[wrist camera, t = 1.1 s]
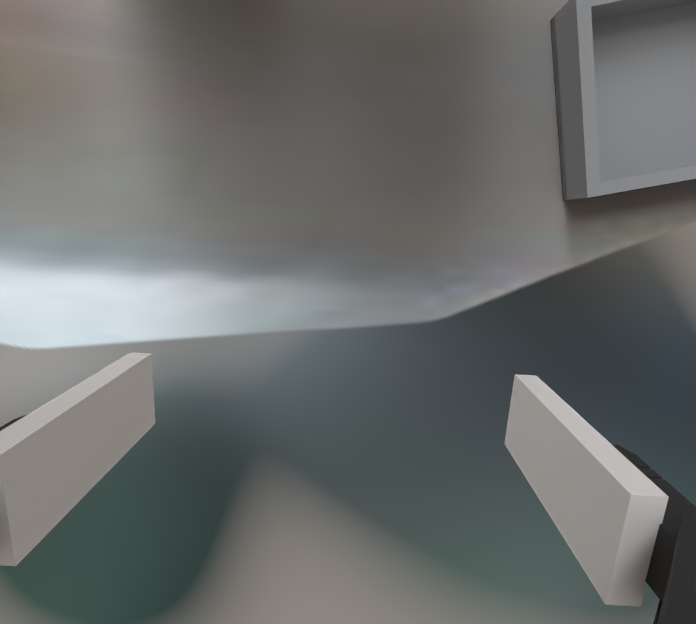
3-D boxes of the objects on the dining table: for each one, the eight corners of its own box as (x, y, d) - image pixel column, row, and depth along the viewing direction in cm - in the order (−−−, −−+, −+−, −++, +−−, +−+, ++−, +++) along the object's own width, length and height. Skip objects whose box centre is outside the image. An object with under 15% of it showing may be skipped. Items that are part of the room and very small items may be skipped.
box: (550, 20, 33) (575, -7, 29) (734, -18, 32) (786, -51, 29) (562, 200, 36) (587, 197, 32) (732, 170, 35) (779, 163, 31)
